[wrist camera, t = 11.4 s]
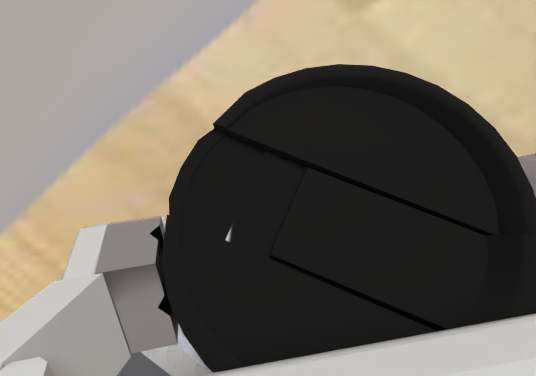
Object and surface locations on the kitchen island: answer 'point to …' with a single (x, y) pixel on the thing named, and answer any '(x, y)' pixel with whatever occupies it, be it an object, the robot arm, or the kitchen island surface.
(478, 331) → the robot arm
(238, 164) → the travel mug
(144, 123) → the kitchen island surface
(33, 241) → the kitchen island surface
